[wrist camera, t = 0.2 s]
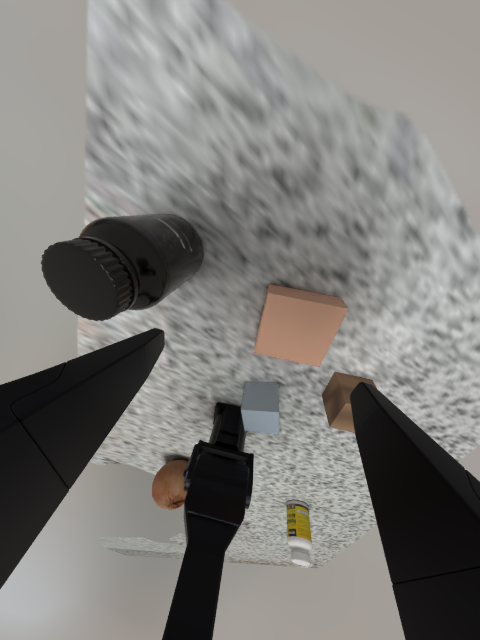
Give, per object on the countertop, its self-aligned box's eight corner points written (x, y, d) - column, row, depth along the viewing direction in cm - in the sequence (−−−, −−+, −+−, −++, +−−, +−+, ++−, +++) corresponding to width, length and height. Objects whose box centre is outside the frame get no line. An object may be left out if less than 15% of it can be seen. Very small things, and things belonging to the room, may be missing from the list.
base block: (315, 350, 26) (319, 366, 23) (256, 338, 26) (253, 352, 24) (339, 296, 22) (348, 308, 19) (268, 282, 22) (268, 293, 20)
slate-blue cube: (279, 403, 32) (279, 434, 28) (248, 401, 33) (244, 431, 29) (278, 382, 29) (278, 412, 25) (245, 381, 30) (240, 409, 26)
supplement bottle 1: (208, 222, 20) (134, 243, 9) (200, 285, 23) (140, 348, 13) (143, 204, 20) (0, 205, 9) (145, 269, 23) (43, 320, 13)
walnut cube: (355, 402, 29) (368, 436, 25) (321, 394, 29) (329, 426, 25) (372, 379, 26) (390, 413, 22) (334, 371, 27) (345, 403, 22)
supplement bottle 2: (292, 497, 49) (296, 557, 41) (312, 504, 49) (319, 565, 41) (282, 503, 52) (283, 560, 43) (301, 510, 52) (305, 568, 44)
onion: (195, 445, 50) (196, 488, 40) (194, 473, 52) (195, 519, 43) (155, 451, 47) (146, 498, 38) (156, 480, 50) (148, 530, 40)
